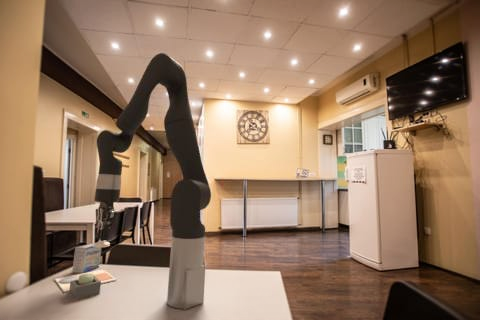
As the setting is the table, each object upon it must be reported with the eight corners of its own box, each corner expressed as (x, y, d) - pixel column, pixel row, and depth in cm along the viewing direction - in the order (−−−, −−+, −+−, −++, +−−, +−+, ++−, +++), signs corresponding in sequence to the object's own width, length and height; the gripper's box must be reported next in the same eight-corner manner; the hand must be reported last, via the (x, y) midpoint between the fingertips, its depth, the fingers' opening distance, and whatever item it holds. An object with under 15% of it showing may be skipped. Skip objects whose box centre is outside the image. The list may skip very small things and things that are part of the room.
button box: (99, 293, 66) (100, 281, 66) (74, 300, 62) (76, 287, 62) (93, 287, 70) (94, 276, 70) (69, 292, 66) (70, 281, 66)
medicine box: (82, 273, 81) (85, 248, 82) (71, 272, 81) (74, 247, 83) (99, 266, 88) (102, 243, 90) (89, 265, 89) (92, 242, 90)
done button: (94, 284, 66) (95, 275, 67) (79, 288, 64) (80, 279, 64) (90, 281, 69) (91, 272, 69) (76, 284, 66) (77, 275, 66)
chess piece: (89, 246, 77) (93, 215, 78) (104, 243, 81) (107, 214, 82) (98, 248, 74) (102, 216, 76) (113, 245, 79) (116, 215, 80)
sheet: (116, 280, 76) (116, 278, 76) (63, 292, 66) (64, 290, 66) (102, 270, 84) (103, 269, 85) (54, 280, 74) (54, 278, 74)
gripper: (127, 188, 79) (122, 241, 76) (112, 188, 88) (107, 235, 85) (103, 187, 73) (96, 244, 71) (90, 187, 82) (83, 237, 80)
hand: (102, 239), depth 78 cm, fingers closed on chess piece
